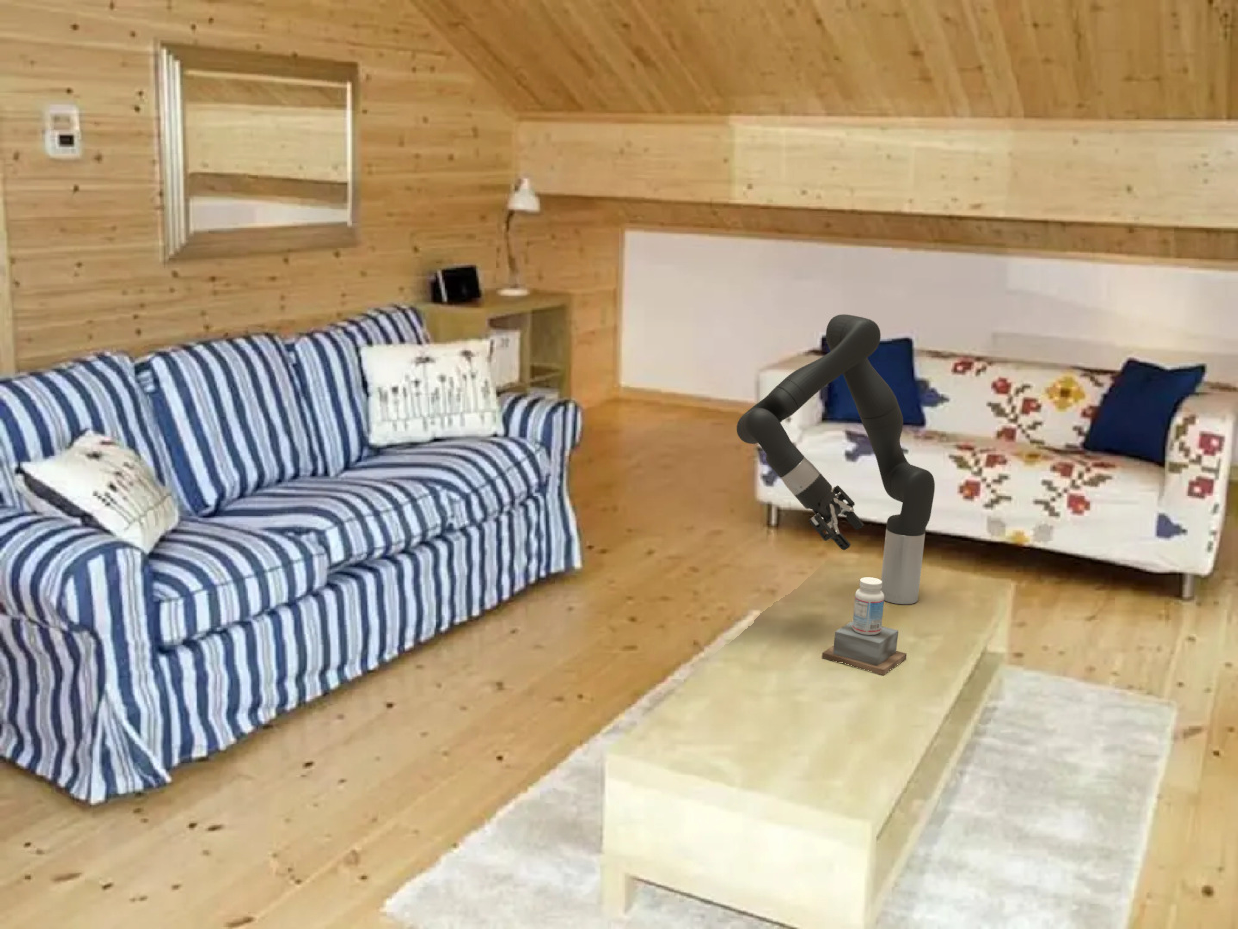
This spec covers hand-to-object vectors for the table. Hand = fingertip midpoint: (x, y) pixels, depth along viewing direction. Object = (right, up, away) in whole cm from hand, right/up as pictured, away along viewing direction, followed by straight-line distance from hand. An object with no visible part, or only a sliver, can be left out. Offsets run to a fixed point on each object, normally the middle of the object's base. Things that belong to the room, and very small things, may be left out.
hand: (854, 537), depth 278 cm
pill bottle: (+1, -19, -9) cm, 21 cm away
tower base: (+1, -25, -8) cm, 26 cm away
